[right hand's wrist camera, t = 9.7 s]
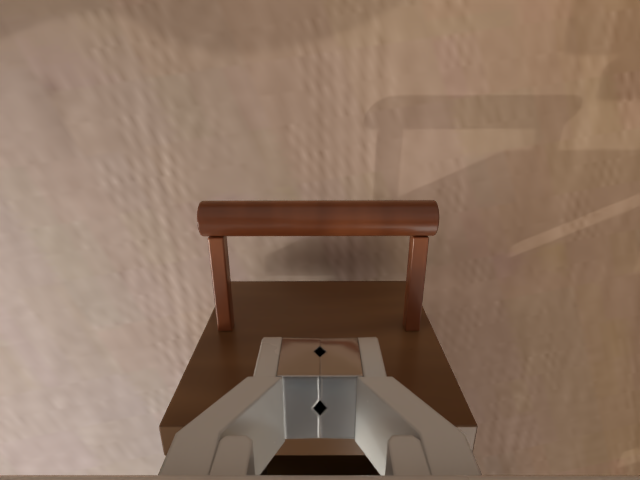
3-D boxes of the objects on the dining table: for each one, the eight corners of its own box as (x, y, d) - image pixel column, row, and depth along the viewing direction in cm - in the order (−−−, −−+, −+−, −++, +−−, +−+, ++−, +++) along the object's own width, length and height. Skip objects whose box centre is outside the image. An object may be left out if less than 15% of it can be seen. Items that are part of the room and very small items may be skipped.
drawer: (216, 176, 19) (125, 258, 10) (420, 176, 19) (508, 258, 10) (250, 529, 28) (218, 736, 19) (388, 528, 28) (421, 736, 19)
